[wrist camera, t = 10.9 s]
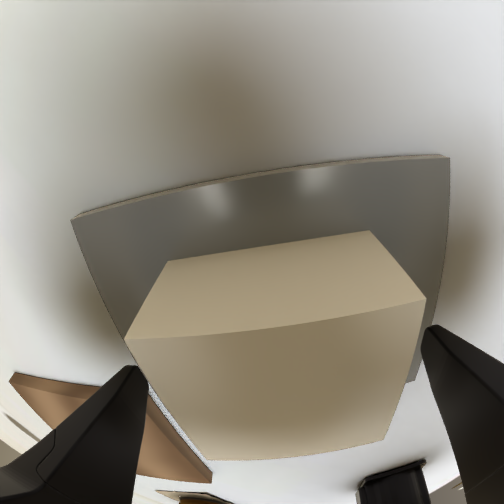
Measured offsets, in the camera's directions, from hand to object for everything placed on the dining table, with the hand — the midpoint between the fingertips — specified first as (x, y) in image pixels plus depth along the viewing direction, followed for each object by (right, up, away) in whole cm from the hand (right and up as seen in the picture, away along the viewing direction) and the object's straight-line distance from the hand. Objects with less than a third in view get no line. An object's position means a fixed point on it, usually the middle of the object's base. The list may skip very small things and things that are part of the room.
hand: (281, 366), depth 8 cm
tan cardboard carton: (0, +1, +2) cm, 2 cm away
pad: (0, +1, +2) cm, 2 cm away
